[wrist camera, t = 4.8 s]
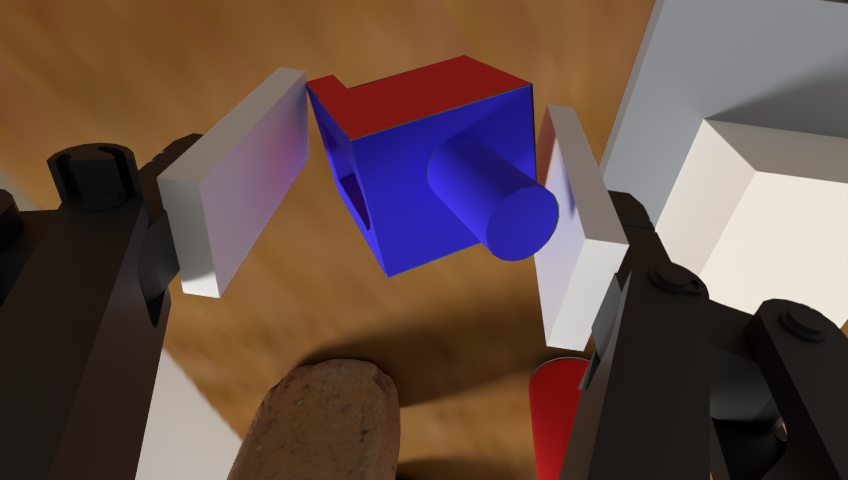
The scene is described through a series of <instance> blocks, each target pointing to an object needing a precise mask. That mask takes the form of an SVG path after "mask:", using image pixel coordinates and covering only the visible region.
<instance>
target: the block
mask: <svg viewBox="0 0 848 480" xmlns="http://www.w3.org/2000/svg"><path fill="white" fill-rule="evenodd" d="M400 433H401V430H400V408H399V401H398V394H397V389H396V387H395V384H394V381H393V380H392V379H391V378H390V376H389V375H386V374H384V373H382V371H381V370H379V368H378V367H377V366H376V365H374V364H372V363H370V362H364V361H359V360H355V359H332V360H328V361H324V362H322V363H318V364H316V365H306V366H303V367H298V368H296V369H294V370H293V371H292V372H291V373H289V374H288V375H287V376H286V377H285V378H283V379H281V381H280V382H279V383H278V384H277V385H275V386H274V387H273V388H271V389H270V390H269V391H268V392H267V393H266V395H265V397H264V399H263V401H262V402H261V404H260V406H259V408H258V410H257V412H256V415H255V417H254V419H253V421H252V423H251V424H250V426H249V429H248V431H247V433H246V435H245V438H244V440H243V442H242V445H241V447H240V449H239V452H238V455H237V457H236V459H235V461H234V463H233V466H232V468H231V471H230V473H229V475H228V478H227V480H395V476H396V470H397V463H398V456H399V448H400Z"/></svg>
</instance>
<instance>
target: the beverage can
mask: <svg viewBox="0 0 848 480" xmlns="http://www.w3.org/2000/svg"><path fill="white" fill-rule="evenodd" d="M589 363H590V361H589V360H586V359H583V358H578V357H561V358H556V359H552V360H550V361H547V362H545V363H543V364H542V365H540V366H539V367H538V368H537V369H536V370H535V371H534V372H533V374H532V376H531V378H530V382H529V400H530V410H531V420H532V430H533V440H534V450H535V460H536V470H537V480H558V479H559V476H560V472H561V468H562V464H563V460H564V457H565V453H566V449H567V445H568V441H569V438H570V434H571V430H572V426H573V422H574V419H575V415H576V411H577V407H578V403H579V400H580V396H581V392H582V390H580V389H578V387H579V385H580V383H581V380H582V378H583V376H584V374H585V372H586V369H587V367H588V365H589Z"/></svg>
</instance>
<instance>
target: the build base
mask: <svg viewBox="0 0 848 480" xmlns="http://www.w3.org/2000/svg"><path fill="white" fill-rule="evenodd" d="M599 171H600V173H601V176H602V178H603V181H604V183H605V186H606V188H607V190H611V191H618V192H625V193H630V194H631V195H632V196H633V197H634V198H636V199H637V200H638V201H639V202H640V203H641V204H642V205H644V207H645V209H646V211H647V213H648V215H649V217H650V221H652V223H653V225H654V227H655V232H657V233H658V236H659V238H660V240H661V242H662V244H663V246H664V248H665V250H666V252H667V254H668V256H669V258H670V260H671V262H674V263H676V264H678V265H680V266H683V267H685V268H687V269H688V270H690V271H691V272H693V273H694V274H696V275H697V276H698V277H699V278H700V279H701V280H702V281H703V282H704V284H705V285H706V286H707V289H708V292H709V299H711V300H713V301H716V302H718V303H720V304H723V305H726V306H729V307H732V308H735V309H738V310H741V311H744V312H746V313H749V314H752V315H754V314H755V312H756V311H757V309H758V308H759V307H760V305H761V304H762V302H763V301H765V300H769V299H773V298H776V299H787V300H790V301H794V302H797V303H802V304H804V305H807V306H809V307H810V308H813V309H815V310H817V311H819V312H821V313H822V314H823V315H824V316H825V317H827V318H828V319H829V320H831V321H832V322H834V323H835V324H836V325H837V326H838V328H839V329H840V328H841V327H842V325H843V324H844V323H845V322H846V320H847V319H848V1H841V0H656V2H655V4H654V7H653V10H652V13H651V16H650V19H649V22H648V25H647V28H646V31H645V34H644V37H643V40H642V43H641V45H640V48H639V51H638V54H637V57H636V60H635V63H634V66H633V69H632V72H631V75H630V78H629V81H628V84H627V86H626V89H625V92H624V95H623V98H622V101H621V104H620V107H619V110H618V113H617V116H616V119H615V122H614V125H613V127H612V130H611V133H610V136H609V139H608V142H607V145H606V148H605V151H604V154H603V157H602V160H601V163H600V166H599Z"/></svg>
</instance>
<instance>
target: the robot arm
mask: <svg viewBox="0 0 848 480" xmlns="http://www.w3.org/2000/svg"><path fill="white" fill-rule="evenodd" d="M306 82H307V79H306V70H298V69H291V68H284V67H279V68H278V69H277V70H276V71H275V72H274V73H272V74H271V75H270V76H269V77H268V78H267V79H266V80H265V81H264V82H262V83H261V84H260V85H259V86H258V87H257V88H256V89H255V90H254V91H252V92H251V93H250V94H249V95H248V96H247V97H246V98H245V99H244V100H242V101H241V102H240V103H239V104H238V105H237V106H236V107H235V108H233V109H232V110H231V111H230V112H229V113H228V114H227V115H226V116H225V117H223V118H222V119H221V120H220V121H219V122H218V123H217V124H216V125H215V126H213V127H212V128H211V129H210V130H209V131H208V132H207V133H206V134H205V135H202V134H195V133H193V134H190V135H188V136H185V137H183V138H180V139H178V140H175V141H174V142H172V143H171V144H170V145H169V146H168V147H166V148H165V149H164V150H163V151H162V154H161V153H159V154H158V155H157V156H155V157H154V158H153V159H152V162H148V163H147V164H146V165H145V166H143V167H142V168H141V169H140V170H139V171H138V169H137V165H136V161H135V157H134V153H133V152H132V151H131V150H130V149H129V148H127V147H125V146H121V145H118V144H110V143H93V144H83V145H79V146H74V147H70V148H67V149H64V150H62V151H60V152H57V153H55V154H54V155H52V156H51V157H50V158H49V159H48V160H47V163H48V166H49V169H50V171H51V174H52V177H53V179H54V182H55V185H56V187H57V190H58V193H59V196H60V198H61V201H62V203H61V205H60V206H59V208H58V210H40V211H19V209H18V207H17V205H16V203H15V200H14V198H13V196H12V195H11V194H10V193H9V192H7V191H6V190H3V189H0V480H135V477H136V472H137V467H138V462H139V457H140V452H141V447H142V442H143V437H144V432H145V428H146V423H147V418H148V413H149V408H150V403H151V399H152V394H153V389H154V384H155V379H156V374H157V370H158V365H159V360H160V355H161V350H162V345H163V341H164V336H165V331H166V326H167V321H168V316H169V311H170V307H171V297H170V292H169V288H168V284H169V283H170V282H171V281H172V279H173V278H174V277H175V276H176V274H177V273H178V272H179V275H180V279H181V283H182V287H183V292H184V293H189V294H196V295H203V296H209V297H216V298H220V297H221V295H222V293H223V292H224V290H225V289H226V287H227V286H228V284H229V282H230V281H231V279H232V278H233V276H234V275H235V273H236V271H237V270H238V268H239V267H240V265H241V264H242V262H243V260H244V259H245V257H246V256H247V254H248V253H249V251H250V250H251V248H252V246H253V245H254V243H255V242H256V240H257V239H258V237H259V235H260V234H261V232H262V231H263V229H264V228H265V226H266V224H267V223H268V221H269V220H270V218H271V217H272V215H273V213H274V212H275V210H276V209H277V207H278V206H279V204H280V202H281V201H282V199H283V198H284V196H285V195H286V193H287V191H288V190H289V188H290V187H291V185H292V184H293V182H294V181H295V179H296V177H297V176H298V174H299V173H300V171H301V170H302V168H303V166H304V165H305V163H306V162H307V160H308V159H309V141H308V110H307V87H306ZM536 167H537V182H538V183H539V184H541V185H542V186H544V187H545V188H546V189H548V190H549V191H550V192H551V193H553V194H554V195H555V197H556V199H557V202H558V204H559V221H558V224H557V227H556V230H555V232H554V233H553V235H552V237H551V238H550V240H549V241H548V243H547V244H545V245H544V246H543V247H542V248H541V249H540V250H539V251H538V252H537V253H535V254H534V256H535V264H536V271H537V279H538V286H539V293H540V301H541V308H542V316H543V323H544V331H545V338H546V345H547V346H551V347H558V348H564V349H571V350H578V351H584V349H585V346H586V344H587V342H588V339H589V337H590V335H591V332H592V333H593V338H594V342H595V346H596V349H595V352H594V354H593V356H592V358H591V360H590V363H589V365H588V367H587V369H586V372H585V374H584V376H583V378H582V380H581V383H580V385H579V387H578V389H580V390H582V392H581V396H580V400H579V403H578V407H577V411H576V415H575V419H574V422H573V426H572V430H571V434H570V438H569V441H568V445H567V449H566V453H565V457H564V460H563V464H562V468H561V472H560V476H559V479H558V480H710V471H711V475H712V478H713V480H848V339H847V337H846V336H845V334H844V333H843V332H842V331H841V330H840V329H839V328H838V326H837V325H836V324H835V323H834V322H832V321H831V320H829V319H828V318H827V317H825V316H824V315H823V314H822V313H821V312H819V311H817V310H815V309H813V308H810V307H809V306H807V305H804V304H802V303H797V302H794V301H790V300H787V299H776V298H773V299H769V300H765V301H763V302H762V304H761V305H760V307H759V308H758V309H757V311H756V312H755V314H754V315H752V314H749V313H746V312H744V311H741V310H738V309H735V308H732V307H729V306H726V305H723V304H720V303H718V302H716V301H713V300H711V299H709V292H708V289H707V286H706V285H705V284H704V282H703V281H702V280H701V279H700V278H699V277H698V276H697V275H696V274H694V273H693V272H691V271H690V270H688V269H687V268H685V267H683V266H680V265H678V264H676V263H674V262H671V260H670V258H669V256H668V254H667V252H666V250H665V248H664V246H663V244H662V242H661V240H660V238H659V236H658V233H657V232H655V227H654V225H653V223H652V221H650V217H649V215H648V213H647V211H646V209H645V207H644V205H642V204H641V203H640V202H639V201H638V200H637V199H636V198H634V197H633V196H632V195H631V194H630V193H625V192H618V191H611V190H607V188H606V186H605V183H604V181H603V178H602V176H601V173H600V171H599V168H598V166H597V163H596V161H595V158H594V156H593V153H592V151H591V149H590V146H589V144H588V141H587V139H586V136H585V134H584V131H583V129H582V126H581V124H580V121H579V119H578V116H577V114H576V111H575V109H574V107H566V106H559V105H552V104H547V106H546V110H545V114H544V118H543V122H542V126H541V129H540V133H539V137H538V141H537V145H536ZM783 423H784V424H785V427H786V431H787V435H786V432H785V430H784V428H783V425H782V424H783Z"/></svg>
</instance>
